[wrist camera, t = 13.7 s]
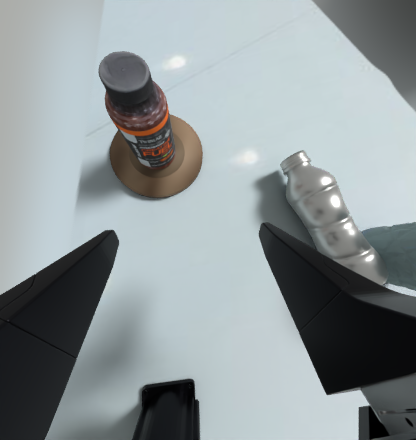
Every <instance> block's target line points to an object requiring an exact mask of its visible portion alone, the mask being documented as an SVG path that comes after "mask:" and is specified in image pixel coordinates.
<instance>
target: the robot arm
mask: <svg viewBox="0 0 416 440" xmlns="http://www.w3.org/2000/svg"><path fill="white" fill-rule="evenodd" d="M259 238H260V241H261V244H262V247H263V250H264V254H265V257H266V259H267V261H268V264H269V266H270V268H271V270H272V273H273V275H274V277H275V279H276V282H277V284H278V286H279V288H280V291H281V293H282V295H283V298H284V300H285V302H286V304H287V307H288V309H289V311H290V313H291V316H292V318H293V320H294V322H295V325H296V327H297V329H298V331H299V334H300V336H301V339H302V341H303V343H304V345H305V348H306V350H307V352H308V354H309V357H310V359H311V361H312V363H313V366H314V368H315V370H316V373H317V375H318V377H319V379H320V382H321V384H322V386H323V388H324V390H325V392H326V394H327V395H332V394H338V393H344V392H351V391H357V390H361V391H362V393H363V395H364V396H365V398H366V399H367V401H368V403H369V404H370V405H369V406H363V407H359V440H416V297H414V296H409V295H405V294H401V293H398V292H395V291H393V290H390V289H388V288H386V287H384V286H382V285H380V284H378V283H376V282H374V281H372V280H370V279H368V278H366V277H364V276H362V275H360V274H358V273H356V272H354V271H352V270H351V269H349V268H347V267H345V266H343V265H341V264H339V263H338V262H336V261H334V260H332V259H330V258H329V257H327V256H325V255H324V254H322V253H320V252H318V251H317V250H315V249H313V248H312V247H310V246H308V245H306V244H305V243H303V242H301V241H300V240H298V239H296V238H294V237H293V236H291V235H289V234H288V233H286V232H284V231H282V230H281V229H279V228H277V227H276V226H274V225H272V224H270V223H268V222H265V223H262V224H261V227H260V230H259ZM118 246H119V240H118V237H117V235H116V233H115V231H114V230H106V231H104V232H102V233H101V234H99V235H97V236H96V237H94V238H92V239H91V240H89V241H88V242H86V243H84V244H83V245H81V246H80V247H78V248H76V249H75V250H73V251H72V252H70V253H68V254H67V255H65V256H63V257H62V258H60V259H59V260H57V261H55V262H54V263H52V264H51V265H49V266H47V267H46V268H44V269H43V270H41V271H39V272H38V273H37V274H35V275H33V276H31V277H30V278H28V279H26V280H25V281H23V282H21V283H20V284H18V285H16V286H15V287H13V288H12V289H10V290H8V291H6V292H5V293H3V294H1V295H0V440H44V439H45V437H46V435H47V433H48V431H49V428H50V426H51V423H52V421H53V418H54V415H55V413H56V410H57V408H58V405H59V403H60V400H61V398H62V395H63V393H64V390H65V388H66V385H67V382H68V380H69V377H70V375H71V372H72V370H73V367H74V365H75V362H76V360H77V359H76V358H77V357H78V354H79V352H80V349H81V347H82V344H83V342H84V339H85V336H86V334H87V331H88V329H89V326H90V324H91V321H92V319H93V316H94V314H95V311H96V308H97V306H98V303H99V301H100V298H101V296H102V293H103V291H104V288H105V286H106V283H107V281H108V278H109V275H110V273H111V270H112V268H113V264H114V261H115V257H116V253H117V249H118ZM189 384H192V385H191V386H190V385H189ZM146 390H147V391H148V392H146ZM132 440H200V415H199V401H198V400H197V399H196V400H195V383H194V380H192V379H188V380H180V381H173V382H166V383H159V384H152V385H146V386H145V387H144V388H143V391H142V410H141V413H140V416H139V419H138V422H137V425H136V428H135V432H134V435H133V438H132Z"/></svg>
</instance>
